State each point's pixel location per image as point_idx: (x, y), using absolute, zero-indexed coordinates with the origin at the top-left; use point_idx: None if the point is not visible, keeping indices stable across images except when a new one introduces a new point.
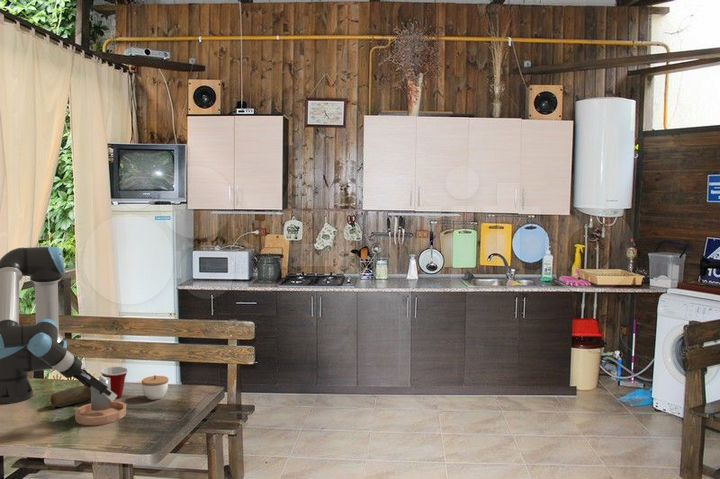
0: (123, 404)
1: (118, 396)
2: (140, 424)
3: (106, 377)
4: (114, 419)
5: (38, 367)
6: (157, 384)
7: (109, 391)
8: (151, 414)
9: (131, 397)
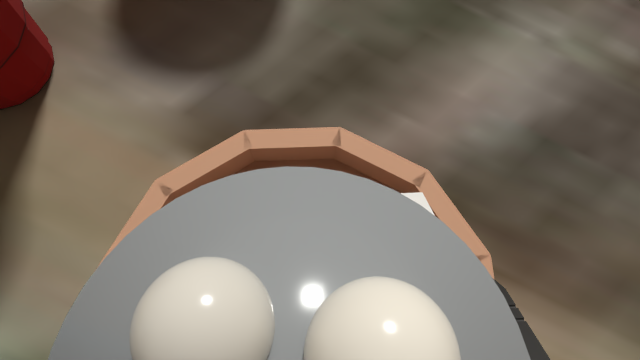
0: (331, 143)
1: (47, 54)
2: (626, 199)
3: (231, 206)
4: None
5: None
6: None
7: (521, 317)
8: (497, 71)
9: (110, 2)
